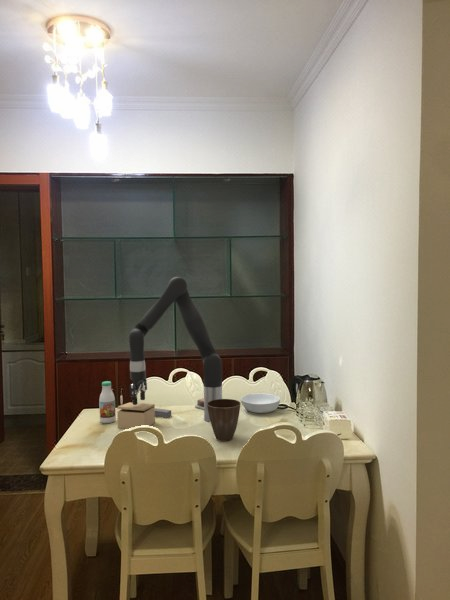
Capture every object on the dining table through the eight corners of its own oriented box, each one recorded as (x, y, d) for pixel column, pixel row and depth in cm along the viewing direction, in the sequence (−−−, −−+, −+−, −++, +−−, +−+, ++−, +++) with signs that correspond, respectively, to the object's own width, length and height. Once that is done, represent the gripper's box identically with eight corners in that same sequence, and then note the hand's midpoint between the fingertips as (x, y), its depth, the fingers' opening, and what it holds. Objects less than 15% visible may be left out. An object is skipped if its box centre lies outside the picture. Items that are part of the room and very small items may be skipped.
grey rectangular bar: (171, 416, 250) (171, 410, 250) (167, 419, 246) (167, 412, 246) (148, 414, 256) (148, 407, 255) (144, 416, 252) (144, 409, 252)
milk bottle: (96, 421, 243) (95, 382, 242) (110, 417, 249) (108, 379, 247) (105, 424, 238) (104, 384, 237) (118, 420, 244) (117, 381, 242)
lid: (154, 406, 240) (154, 404, 240) (144, 410, 228) (144, 408, 228) (129, 404, 244) (129, 402, 244) (117, 408, 232) (117, 406, 232)
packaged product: (194, 399, 264) (207, 396, 272) (194, 408, 265) (207, 404, 272) (217, 405, 252) (230, 401, 259) (217, 415, 252) (230, 410, 259)
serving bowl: (233, 412, 254) (233, 399, 254) (254, 403, 272) (254, 391, 271) (267, 419, 243) (267, 405, 242) (287, 408, 260) (287, 396, 259)
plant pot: (207, 433, 223) (206, 399, 222) (239, 432, 224) (238, 398, 223) (208, 445, 208) (207, 408, 207) (242, 443, 209) (242, 407, 208)
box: (155, 422, 240) (154, 406, 240) (144, 430, 229) (144, 413, 228) (129, 420, 244) (129, 404, 244) (117, 427, 233) (117, 411, 232)
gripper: (138, 372, 229) (139, 406, 230) (150, 366, 242) (152, 398, 243) (123, 372, 231) (125, 405, 232) (137, 366, 244) (138, 398, 245)
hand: (139, 402), depth 237 cm, fingers open, 8 cm apart
